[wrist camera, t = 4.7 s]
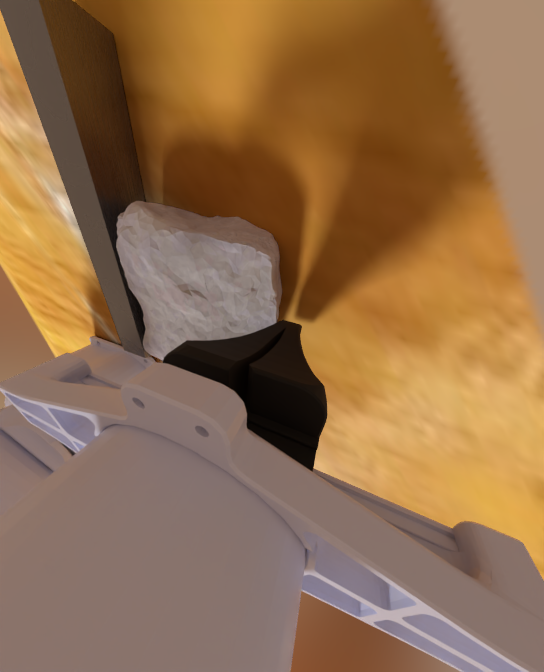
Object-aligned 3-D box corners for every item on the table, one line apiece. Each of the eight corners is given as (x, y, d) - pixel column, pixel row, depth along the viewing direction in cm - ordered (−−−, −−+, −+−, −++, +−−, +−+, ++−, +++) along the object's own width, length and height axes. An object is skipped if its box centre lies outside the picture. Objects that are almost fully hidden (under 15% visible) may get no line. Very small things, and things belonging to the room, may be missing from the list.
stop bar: (152, 334, 19) (123, 350, 17) (77, 37, 10) (-12, -25, 7) (172, 341, 19) (145, 358, 16) (112, 33, 9) (28, -35, 7)
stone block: (298, 226, 12) (148, 196, 13) (294, 235, 8) (76, 192, 9) (270, 362, 19) (173, 340, 19) (260, 402, 15) (138, 375, 15)
